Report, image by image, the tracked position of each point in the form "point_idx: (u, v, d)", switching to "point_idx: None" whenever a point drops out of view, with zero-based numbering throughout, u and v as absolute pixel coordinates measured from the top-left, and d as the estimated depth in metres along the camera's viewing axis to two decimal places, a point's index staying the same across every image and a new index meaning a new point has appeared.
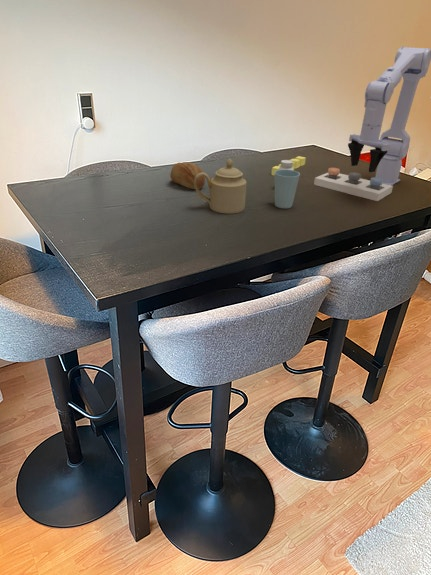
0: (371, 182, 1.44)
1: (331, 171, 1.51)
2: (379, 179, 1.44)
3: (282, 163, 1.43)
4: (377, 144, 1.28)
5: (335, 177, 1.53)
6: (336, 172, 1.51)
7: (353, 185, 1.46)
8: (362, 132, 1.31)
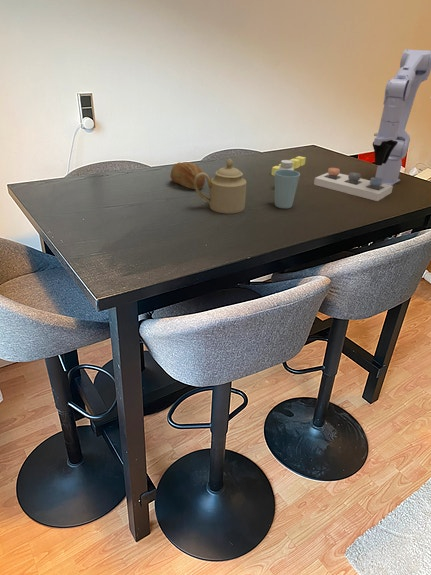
0: (371, 182, 1.44)
1: (331, 171, 1.51)
2: (379, 179, 1.44)
3: (282, 163, 1.43)
4: (376, 138, 1.34)
5: (335, 177, 1.53)
6: (336, 172, 1.51)
7: (353, 185, 1.46)
8: None
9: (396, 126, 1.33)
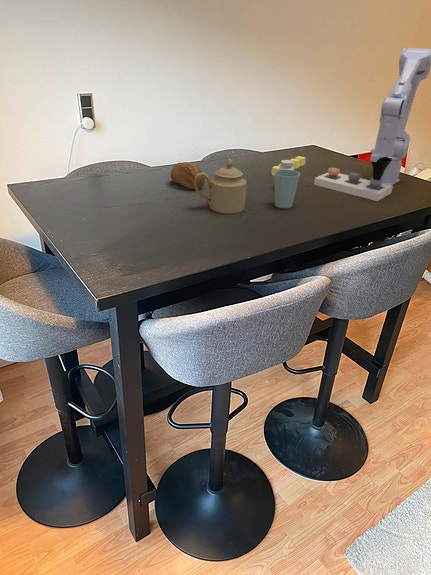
0: (371, 182, 1.44)
1: (331, 171, 1.51)
2: None
3: (282, 163, 1.43)
4: (372, 154, 1.37)
5: (335, 177, 1.53)
6: (336, 172, 1.51)
7: (353, 185, 1.46)
8: None
9: (392, 143, 1.35)
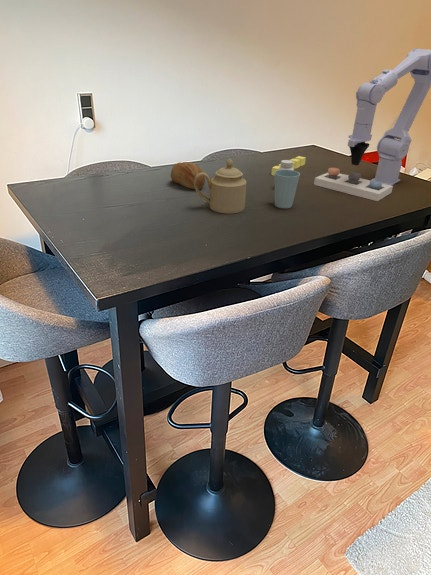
0: (370, 185, 1.44)
1: (331, 171, 1.51)
2: (378, 182, 1.44)
3: (282, 163, 1.43)
4: (350, 139, 1.40)
5: (335, 177, 1.53)
6: (336, 172, 1.51)
7: (353, 185, 1.46)
8: None
9: (369, 128, 1.38)
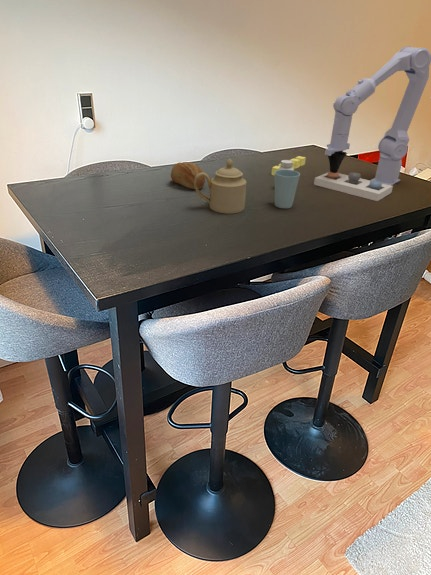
0: (370, 185, 1.44)
1: (330, 174, 1.52)
2: (378, 182, 1.44)
3: (282, 163, 1.43)
4: (327, 148, 1.46)
5: None
6: (335, 175, 1.52)
7: (353, 185, 1.46)
8: None
9: (345, 138, 1.45)
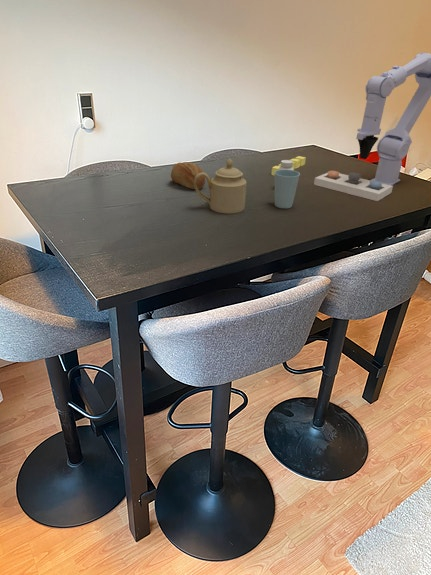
0: (370, 185, 1.44)
1: (330, 174, 1.52)
2: (378, 182, 1.44)
3: (282, 163, 1.43)
4: (358, 133, 1.40)
5: None
6: (335, 175, 1.52)
7: (353, 185, 1.46)
8: None
9: (378, 122, 1.38)
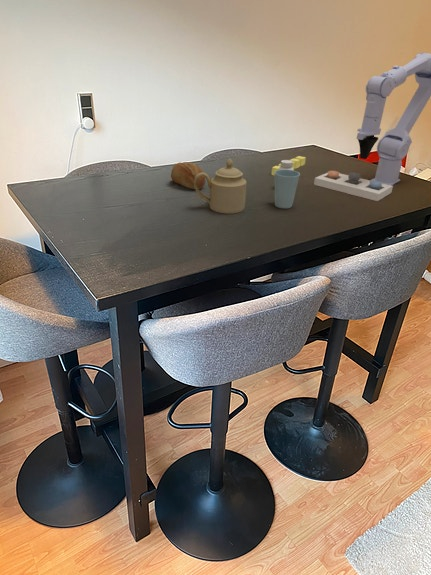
0: (370, 185, 1.44)
1: (330, 174, 1.52)
2: (378, 182, 1.44)
3: (282, 163, 1.43)
4: (359, 132, 1.40)
5: None
6: (335, 175, 1.52)
7: (353, 185, 1.46)
8: None
9: (378, 122, 1.38)
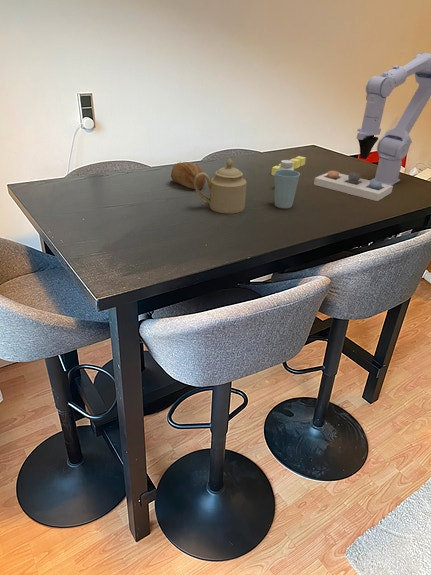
0: (370, 185, 1.44)
1: (330, 174, 1.52)
2: (378, 182, 1.44)
3: (282, 163, 1.43)
4: (359, 132, 1.40)
5: None
6: (335, 175, 1.52)
7: (353, 185, 1.46)
8: None
9: (378, 122, 1.38)
